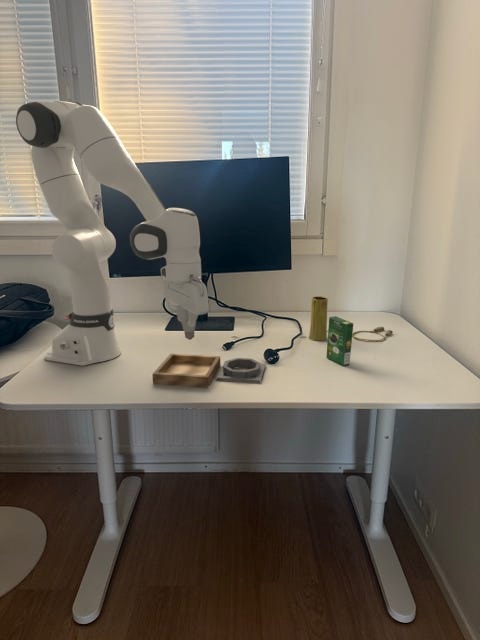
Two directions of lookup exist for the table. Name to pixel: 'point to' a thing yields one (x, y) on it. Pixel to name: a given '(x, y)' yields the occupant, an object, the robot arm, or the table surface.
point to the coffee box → (339, 340)
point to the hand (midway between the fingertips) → (186, 323)
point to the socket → (241, 371)
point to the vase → (318, 319)
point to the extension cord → (374, 332)
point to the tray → (187, 370)
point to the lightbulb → (185, 322)
